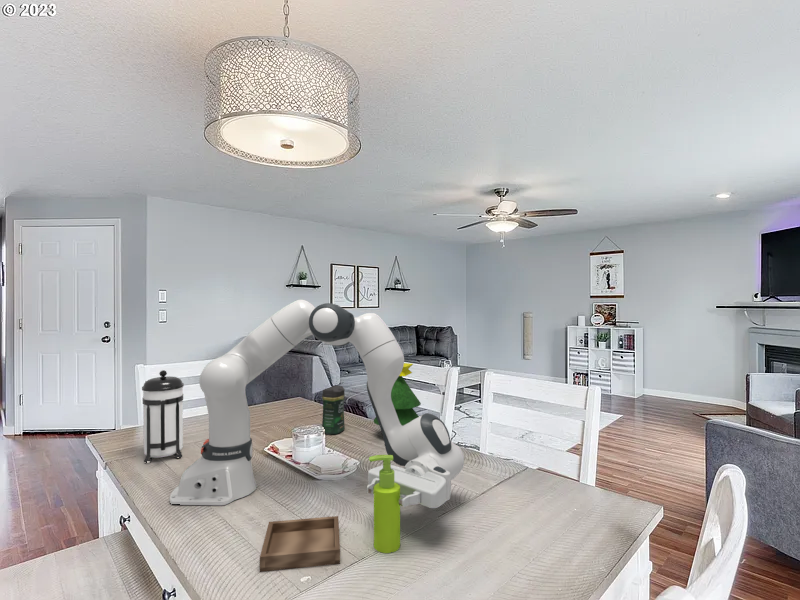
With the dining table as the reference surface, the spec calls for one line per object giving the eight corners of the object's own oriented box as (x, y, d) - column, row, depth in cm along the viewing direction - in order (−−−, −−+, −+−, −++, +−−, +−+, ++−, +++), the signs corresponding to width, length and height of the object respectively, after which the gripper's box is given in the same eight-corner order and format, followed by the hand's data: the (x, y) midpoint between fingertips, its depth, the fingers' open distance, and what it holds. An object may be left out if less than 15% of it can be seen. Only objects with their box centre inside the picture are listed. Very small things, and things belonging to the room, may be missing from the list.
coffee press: (125, 462, 147) (124, 373, 147) (166, 446, 162) (166, 365, 162) (162, 469, 141) (162, 376, 140) (202, 453, 155) (201, 368, 155)
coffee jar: (336, 436, 174) (336, 389, 173) (319, 434, 176) (318, 388, 176) (347, 429, 183) (347, 385, 182) (331, 427, 185) (331, 383, 185)
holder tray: (259, 571, 88) (259, 557, 88) (269, 534, 102) (268, 521, 102) (340, 563, 91) (340, 549, 91) (338, 528, 104) (338, 515, 104)
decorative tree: (365, 440, 168) (365, 362, 168) (385, 426, 186) (384, 356, 186) (412, 446, 161) (411, 365, 161) (428, 431, 179) (428, 358, 179)
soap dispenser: (368, 539, 100) (368, 451, 100) (399, 537, 100) (398, 450, 100) (369, 554, 94) (369, 461, 94) (401, 552, 95) (401, 460, 94)
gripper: (388, 454, 115) (351, 470, 104) (456, 474, 102) (421, 495, 91) (388, 478, 115) (351, 497, 104) (456, 501, 102) (421, 525, 91)
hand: (384, 496), depth 97 cm, fingers open, 8 cm apart
